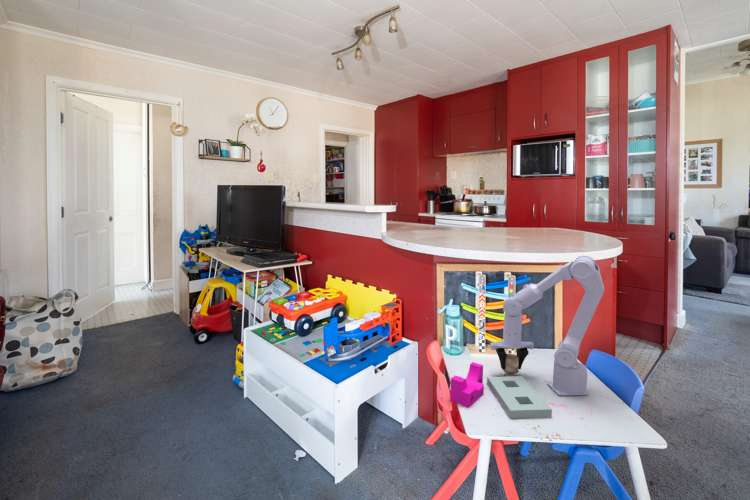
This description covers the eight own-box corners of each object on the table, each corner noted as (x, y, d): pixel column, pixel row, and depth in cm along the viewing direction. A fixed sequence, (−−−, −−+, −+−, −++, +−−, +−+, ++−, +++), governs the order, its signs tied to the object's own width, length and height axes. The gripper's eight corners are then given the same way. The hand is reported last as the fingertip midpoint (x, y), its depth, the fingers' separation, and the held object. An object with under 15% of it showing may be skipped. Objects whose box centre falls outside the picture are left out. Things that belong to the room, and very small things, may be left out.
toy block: (468, 408, 114) (469, 384, 113) (450, 401, 118) (450, 378, 117) (489, 388, 125) (490, 367, 124) (472, 382, 129) (472, 362, 128)
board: (521, 383, 128) (522, 376, 128) (551, 417, 108) (551, 409, 108) (487, 383, 128) (487, 376, 127) (510, 418, 108) (510, 410, 108)
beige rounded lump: (514, 372, 136) (515, 353, 135) (520, 379, 131) (521, 359, 130) (500, 372, 136) (501, 353, 134) (505, 379, 130) (506, 360, 129)
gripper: (528, 326, 135) (526, 362, 137) (487, 327, 134) (486, 363, 136) (537, 334, 128) (535, 371, 130) (494, 334, 127) (493, 372, 129)
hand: (510, 368), depth 133 cm, fingers closed on beige rounded lump, 5 cm apart
